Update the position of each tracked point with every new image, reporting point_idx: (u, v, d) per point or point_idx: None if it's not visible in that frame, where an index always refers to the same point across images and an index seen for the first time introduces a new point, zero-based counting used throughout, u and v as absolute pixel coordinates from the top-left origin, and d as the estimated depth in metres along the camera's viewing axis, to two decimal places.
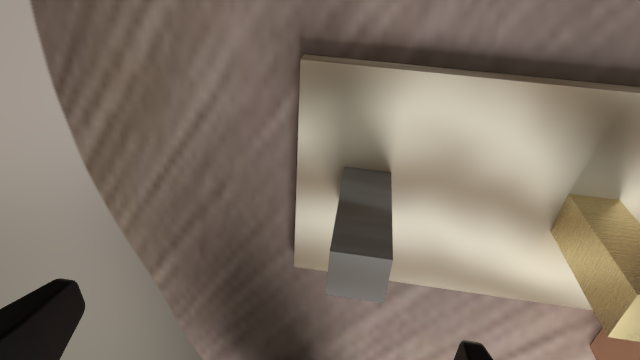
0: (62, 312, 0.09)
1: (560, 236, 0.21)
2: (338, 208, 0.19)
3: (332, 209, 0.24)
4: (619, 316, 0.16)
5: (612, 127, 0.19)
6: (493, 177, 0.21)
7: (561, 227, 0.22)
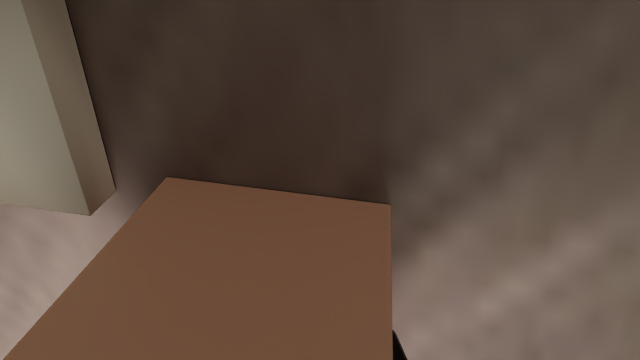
0: None
1: None
2: None
3: None
4: None
5: None
6: None
7: None
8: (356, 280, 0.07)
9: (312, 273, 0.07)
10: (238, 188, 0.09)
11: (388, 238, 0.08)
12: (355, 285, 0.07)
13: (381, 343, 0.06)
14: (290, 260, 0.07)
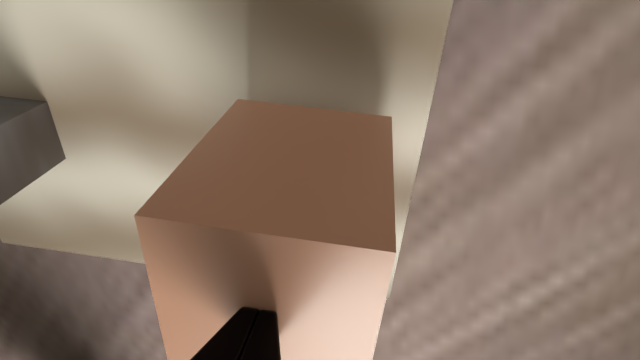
0: None
1: None
2: None
3: None
4: None
5: (295, 15, 0.13)
6: (175, 104, 0.15)
7: None
8: (371, 147, 0.11)
9: (343, 143, 0.11)
10: (287, 106, 0.13)
11: (390, 131, 0.12)
12: (370, 149, 0.11)
13: (387, 170, 0.10)
14: (328, 138, 0.11)
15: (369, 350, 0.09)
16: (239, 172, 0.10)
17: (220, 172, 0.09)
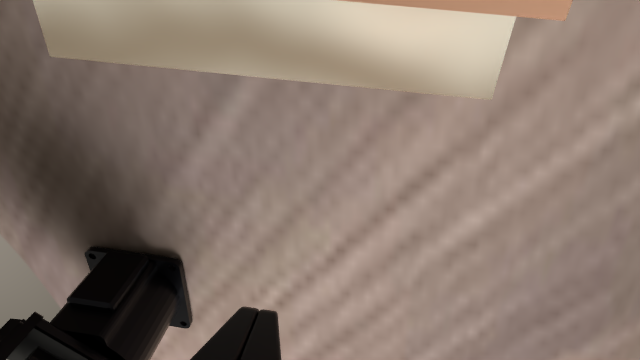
0: None
1: None
2: None
3: None
4: None
5: None
6: None
7: None
8: None
9: None
10: None
11: None
12: None
13: None
14: None
15: None
16: None
17: None
